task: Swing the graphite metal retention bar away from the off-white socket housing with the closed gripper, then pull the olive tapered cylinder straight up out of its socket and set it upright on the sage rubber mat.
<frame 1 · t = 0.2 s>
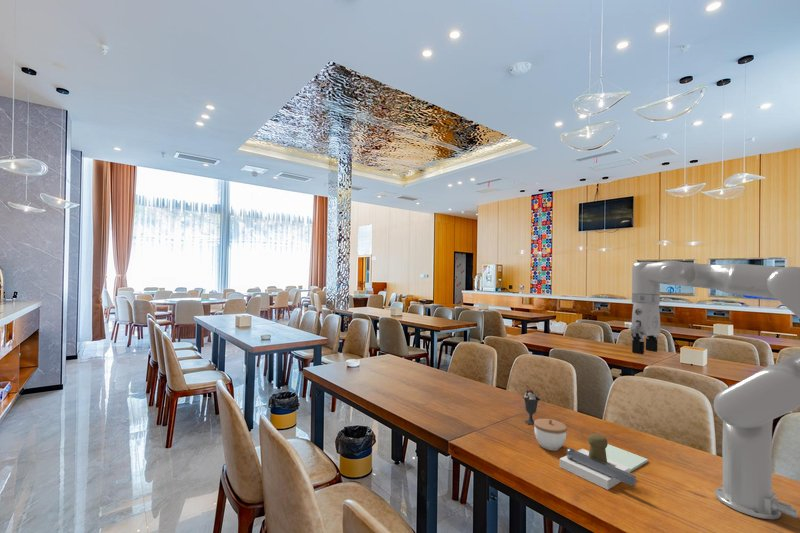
hand: (644, 352, 116), 36 cm above the table, tool pointing down, fingers open, 9 cm apart
sundae: (530, 423, 148), on the table
sage mat: (617, 458, 119), on the table
retention bar: (598, 465, 106), point 4 cm above the table, hinge at 0.0°
olive tapered cylinder: (597, 472, 110), resting in socket housing
socket housing: (597, 471, 110), on the table
lidded jar: (549, 447, 127), on the table
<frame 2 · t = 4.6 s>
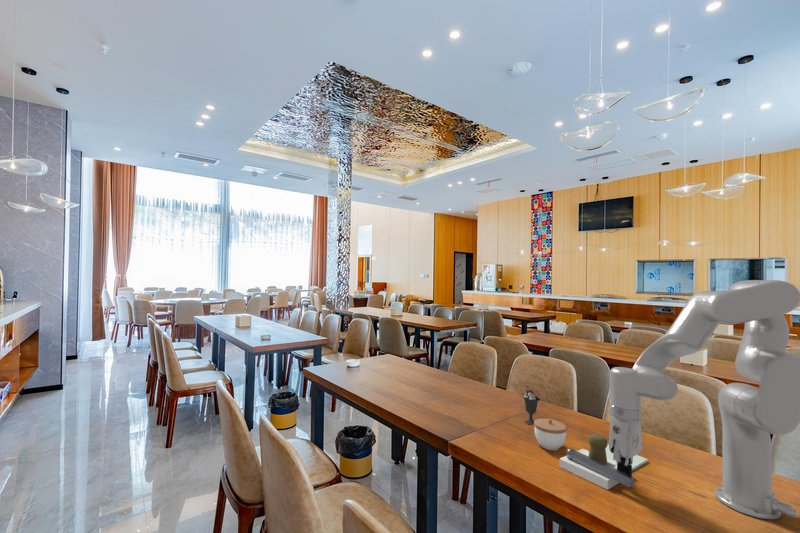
hand: (624, 477, 101), 3 cm above the table, tool pointing down, fingers closed
retention bar: (597, 466, 105), point 4 cm above the table, hinge at 4.3°, touching gripper
everything else where it was.
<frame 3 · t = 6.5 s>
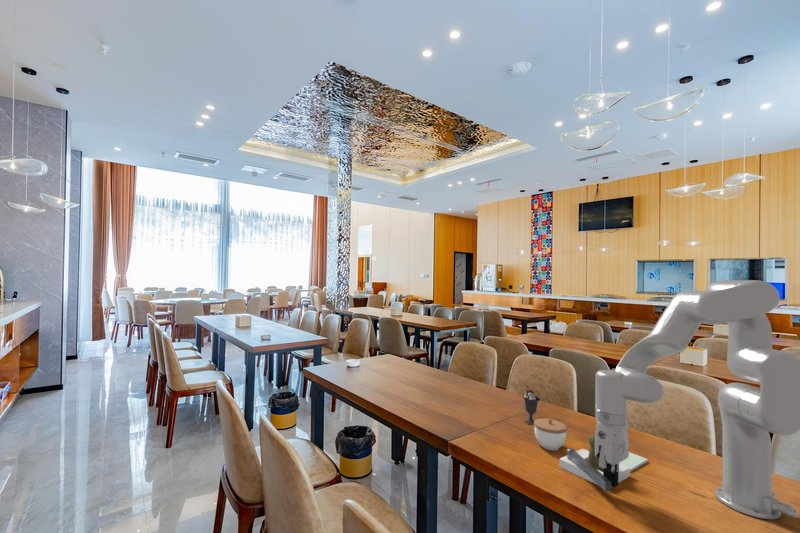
hand: (610, 484, 98), 3 cm above the table, tool pointing down, fingers closed
retention bar: (586, 467, 104), point 4 cm above the table, hinge at 30.7°, touching gripper
everything else where it was.
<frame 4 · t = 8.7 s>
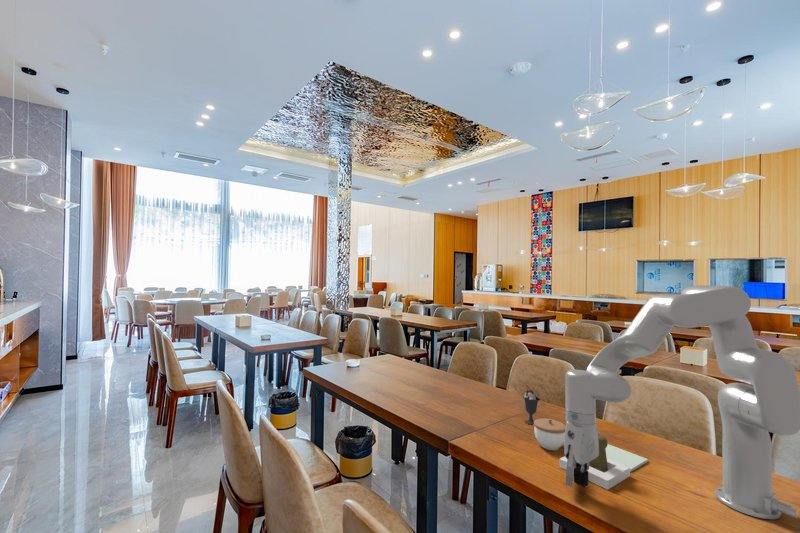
hand: (581, 484, 98), 3 cm above the table, tool pointing down, fingers closed
retention bar: (570, 465, 105), point 4 cm above the table, hinge at 61.6°, touching gripper
everything else where it was.
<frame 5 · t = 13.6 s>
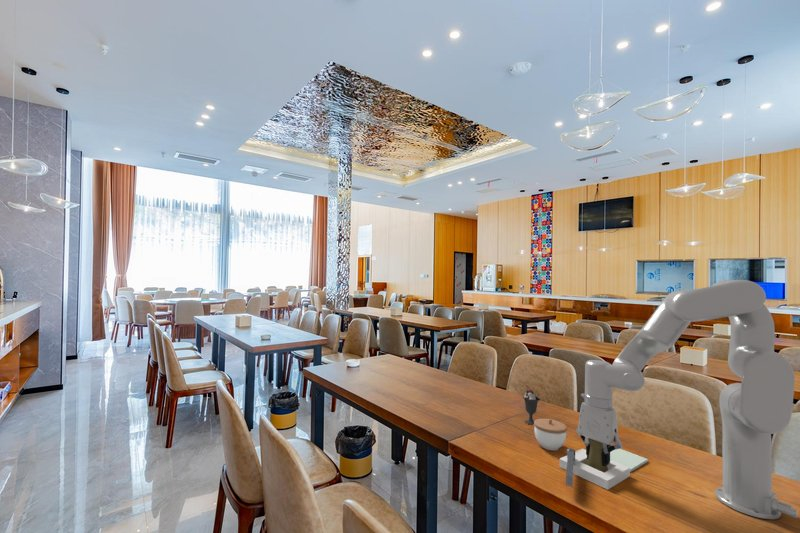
hand: (597, 461, 110), 3 cm above the table, tool pointing down, fingers closed on olive tapered cylinder, 3 cm apart
retention bar: (570, 465, 105), point 4 cm above the table, hinge at 61.6°
olive tapered cylinder: (597, 472, 110), resting in socket housing, touching gripper
everything else where it was.
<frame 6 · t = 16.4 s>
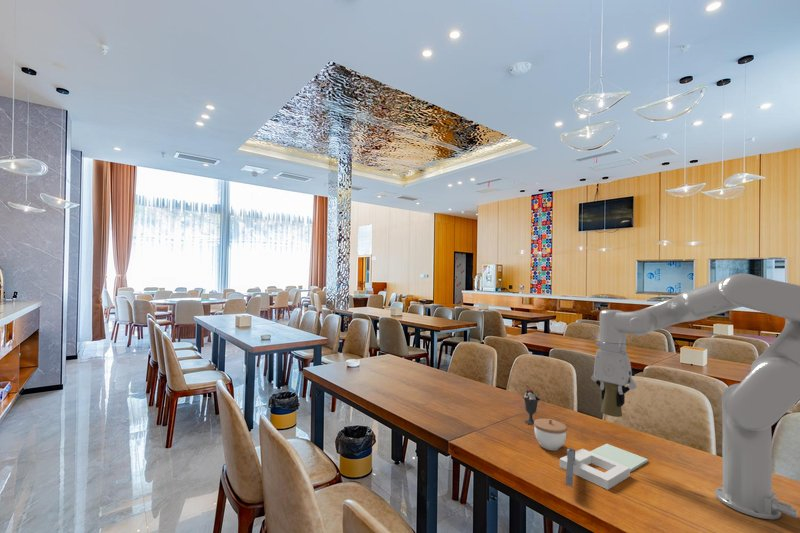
hand: (612, 403, 117), 19 cm above the table, tool pointing down, fingers closed on olive tapered cylinder, 3 cm apart
olive tapered cylinder: (611, 413, 117), point 15 cm above the table, touching gripper
everything else where it was.
when the fingers open (5 cm above the table, at t = 19.7 s): olive tapered cylinder drops 1 cm, resting on sage mat.
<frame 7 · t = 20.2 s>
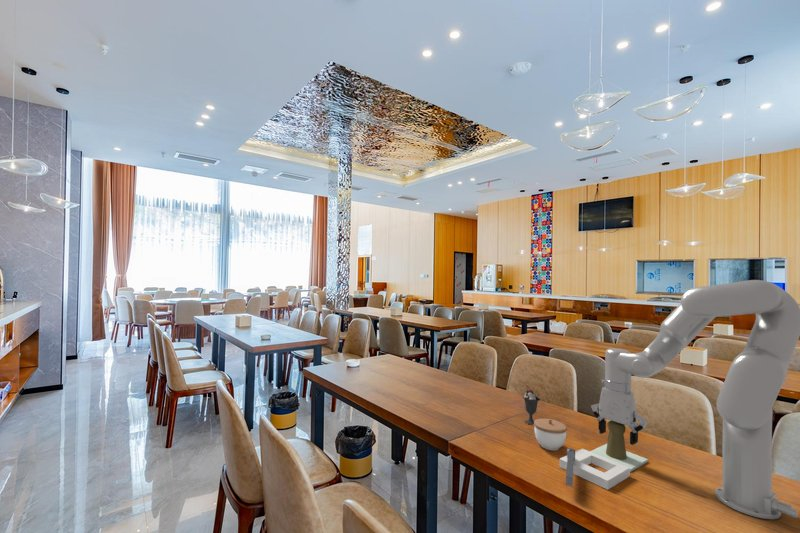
hand: (617, 438, 120), 7 cm above the table, tool pointing down, fingers open, 9 cm apart
olive tapered cylinder: (616, 455, 120), point 1 cm above the table, touching sage mat
everything else where it was.
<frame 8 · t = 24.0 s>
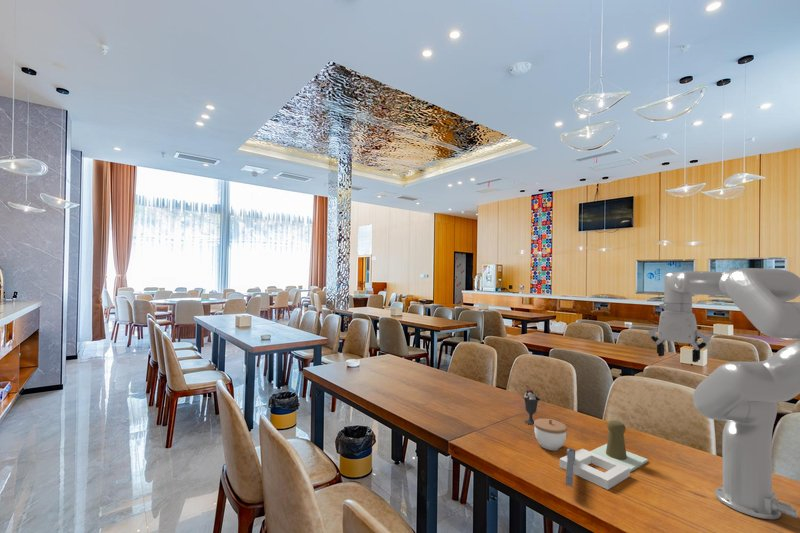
hand: (677, 358, 122), 33 cm above the table, tool pointing down, fingers open, 9 cm apart
nothing on the table moved.
at the end: retention bar at +62° (first picture: +0°); olive tapered cylinder inside the target area (0.3 cm from its centre), point 0.6 cm above the table; olive tapered cylinder tilted 0° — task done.
